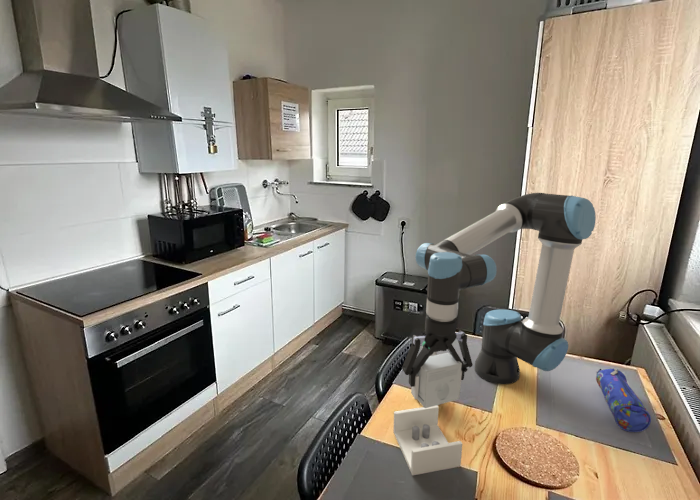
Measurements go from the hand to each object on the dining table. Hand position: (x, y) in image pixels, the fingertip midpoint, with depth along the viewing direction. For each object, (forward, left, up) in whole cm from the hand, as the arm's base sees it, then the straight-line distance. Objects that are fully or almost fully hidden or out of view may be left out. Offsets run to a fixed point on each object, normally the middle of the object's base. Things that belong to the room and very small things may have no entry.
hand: (435, 393), depth 99 cm
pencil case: (-62, -2, -17) cm, 64 cm away
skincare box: (0, 0, -1) cm, 1 cm away
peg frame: (+2, 0, -17) cm, 17 cm away
